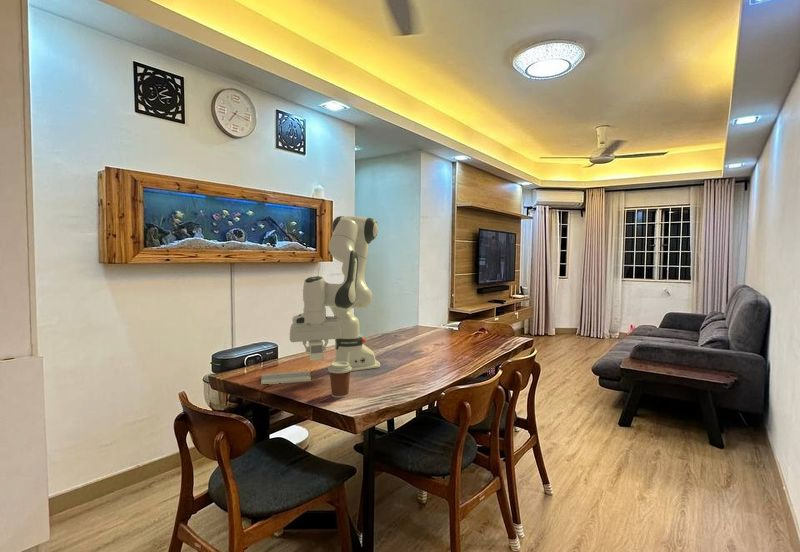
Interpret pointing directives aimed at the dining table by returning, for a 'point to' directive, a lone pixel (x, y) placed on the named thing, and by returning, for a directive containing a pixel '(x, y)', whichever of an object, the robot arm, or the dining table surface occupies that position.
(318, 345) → the block
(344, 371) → the coffee cup
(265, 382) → the rail plate
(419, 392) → the dining table surface
